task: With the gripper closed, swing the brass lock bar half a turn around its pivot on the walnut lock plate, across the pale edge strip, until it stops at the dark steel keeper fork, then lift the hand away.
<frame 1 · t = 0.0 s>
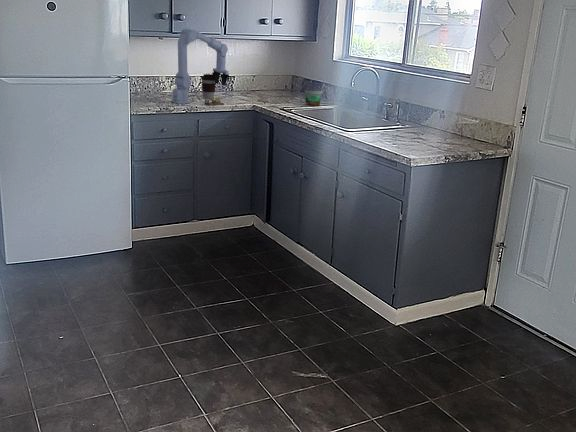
hand: (220, 84, 414), 10 cm above the worktop, tool pointing down, fingers open, 7 cm apart
lock bar: (215, 99, 401), point 3 cm above the worktop, hinge at 0.0°
coffee cup: (208, 98, 423), on the worktop, touching gripper
lock plate: (213, 104, 401), on the worktop
food container: (313, 106, 423), on the worktop
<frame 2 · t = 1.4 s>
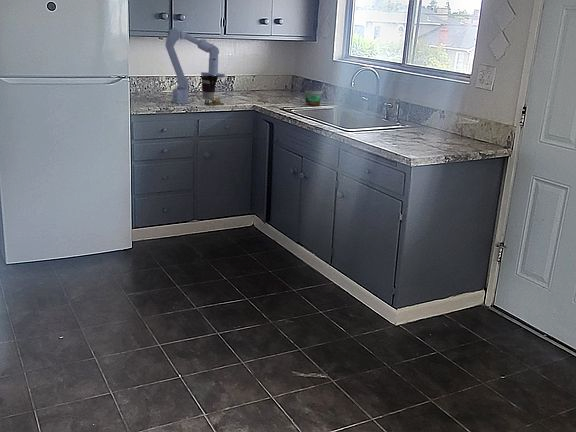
hand: (212, 88, 401), 9 cm above the worktop, tool pointing down, fingers closed
coffee cup: (208, 98, 423), on the worktop
everything else where it was.
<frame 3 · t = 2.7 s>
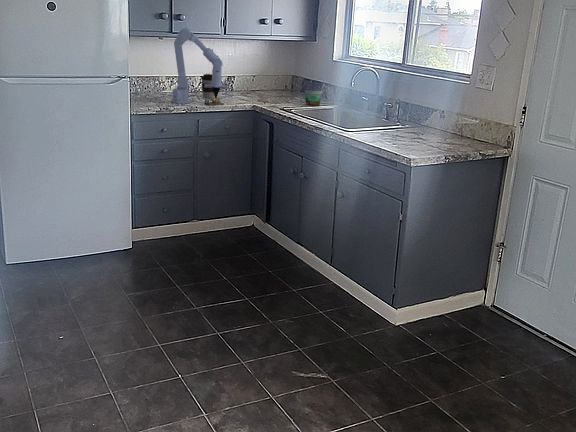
hand: (215, 99, 403), 2 cm above the worktop, tool pointing down, fingers closed, pressing on lock bar
lock bar: (215, 99, 401), point 3 cm above the worktop, hinge at 0.2°, touching gripper
everything else where it was.
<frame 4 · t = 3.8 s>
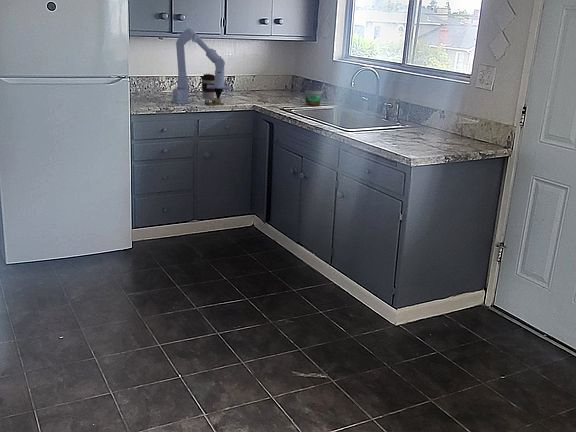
hand: (218, 100, 401), 2 cm above the worktop, tool pointing down, fingers closed, pressing on lock bar
lock bar: (216, 100, 400), point 3 cm above the worktop, hinge at 57.7°, touching gripper
everything else where it was.
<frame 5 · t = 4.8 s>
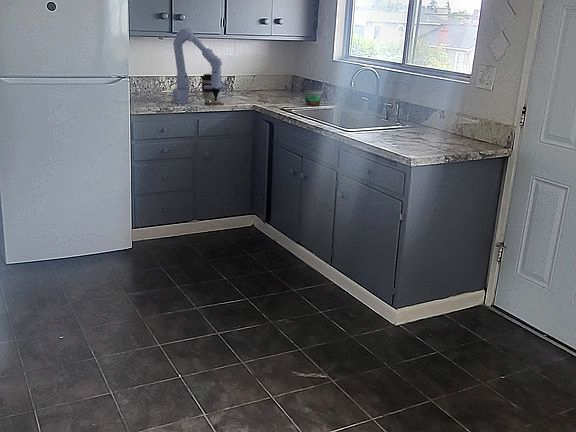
hand: (215, 101, 397), 3 cm above the worktop, tool pointing down, fingers closed, pressing on lock bar
lock bar: (213, 100, 399), point 3 cm above the worktop, hinge at 124.4°, touching gripper
everything else where it was.
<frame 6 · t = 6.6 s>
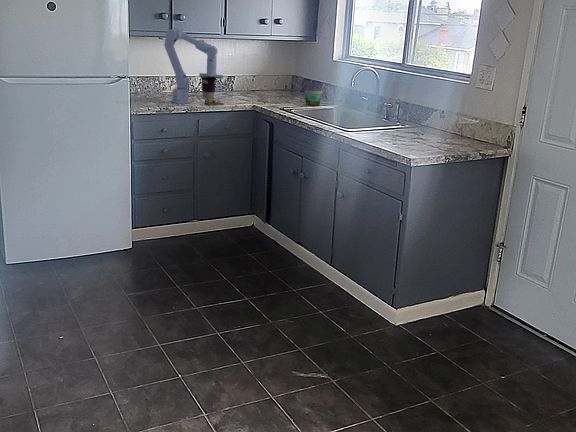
hand: (210, 89, 395), 9 cm above the worktop, tool pointing down, fingers closed
lock bar: (211, 100, 399), point 3 cm above the worktop, hinge at 186.4°
everything else where it was.
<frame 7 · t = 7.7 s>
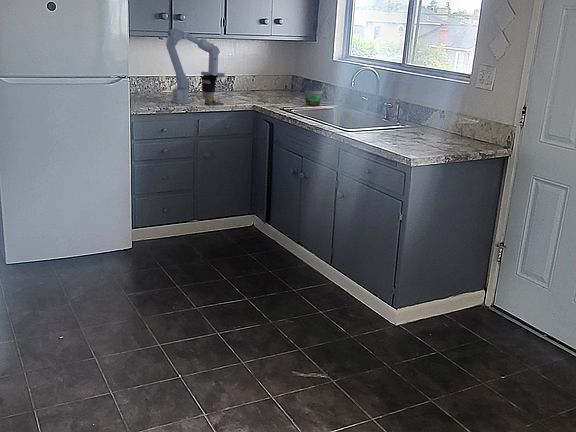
hand: (212, 87, 404), 9 cm above the worktop, tool pointing down, fingers closed
lock bar: (211, 100, 399), point 3 cm above the worktop, hinge at 191.8°
everything else where it was.
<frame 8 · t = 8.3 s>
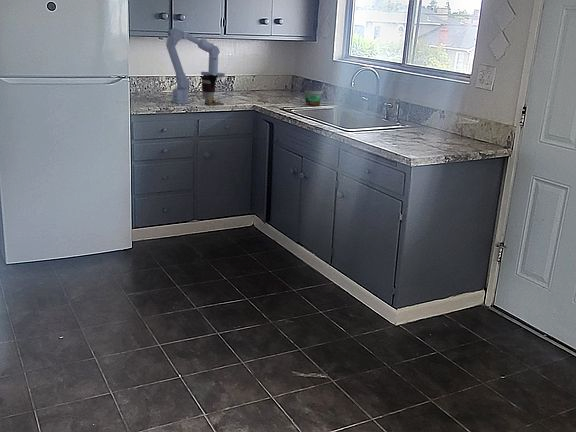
hand: (212, 87, 404), 9 cm above the worktop, tool pointing down, fingers closed
lock bar: (211, 100, 399), point 3 cm above the worktop, hinge at 192.8°
everything else where it was.
at the end: lock bar at +193° (first picture: +0°) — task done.
